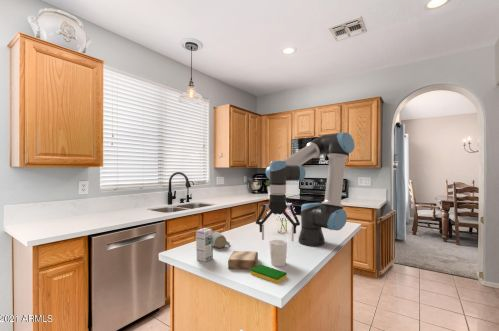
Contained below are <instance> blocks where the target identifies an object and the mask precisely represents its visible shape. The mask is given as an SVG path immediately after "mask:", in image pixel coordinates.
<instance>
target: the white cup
mask: <svg viewBox="0 0 499 331" xmlns="http://www.w3.org/2000/svg"><path fill="white" fill-rule="evenodd" d="M287 243H288V242H287V240H283V239H272V240H270V241H269V250H270V251H269V252H270V264H271V265H272V266H273V267H285V266H286V265H287V251H288V249H287V248H288V247H287V246H288V244H287Z"/></svg>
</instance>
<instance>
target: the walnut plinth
mask: <svg viewBox="0 0 499 331" xmlns="http://www.w3.org/2000/svg"><path fill="white" fill-rule="evenodd" d="M258 260H259V253H258V251H249V250H247V251H246V250H245V251H244V250H233V251H232V253H231V255H230V257H229V258H228V261H227V262H228V263H227V266H228V267H227V269H229V270H230V269H231V270H247V271H249V270H250V271H251V269H252V268H254V267H256V266H258Z"/></svg>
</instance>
